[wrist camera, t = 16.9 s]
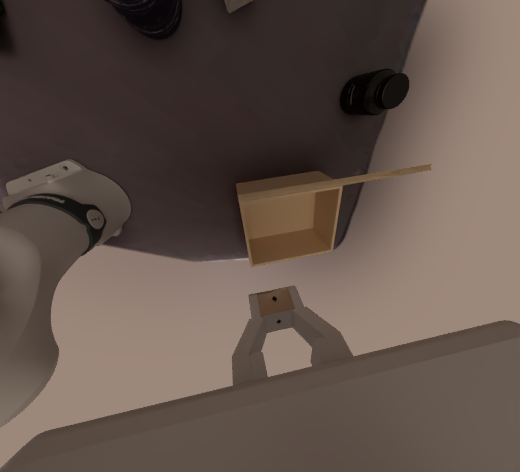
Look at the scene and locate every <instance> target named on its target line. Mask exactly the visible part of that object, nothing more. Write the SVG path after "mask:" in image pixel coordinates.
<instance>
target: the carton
mask: <svg viewBox="0 0 520 472" xmlns="http://www.w3.org/2000/svg"><path fill="white" fill-rule="evenodd" d="M330 180H333V179H332V178H330V177H328V176H327V175H325V174H323V173H322V172H320V171H313V172H306V173H300V174H294V175H287V176H281V177H275V178H268V179H262V180H255V181H249V182H243V183H236V188H237V194H238V195H243V194H250V193H256V192H262V191H268V190H274V189H280V188H287V187H293V186H299V185H305V184H311V183H317V182H324V181H330ZM342 187H343V185H342V186H336V187H330V188H324V189H318V190H312V191H306V192H300V193H294V194H288V195H282V196H276V197H270V198H263V199H257V200H251V201H245V202H239V205H240V210H241V216H242V221H243V227H244V232H245V238H246V243H247V249H248V254H249V260H250V265H251V267H254V266H259V265H265V264H270V263H275V262H280V261H285V260H290V259H295V258H301V257H306V256H311V255H316V254H321V253H326V252H331V251H333V245H334V238H335V232H336V226H337V219H338V213H339V206H340V200H341V194H342Z"/></svg>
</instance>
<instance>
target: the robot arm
mask: <svg viewBox="0 0 520 472" xmlns="http://www.w3.org/2000/svg"><path fill="white" fill-rule="evenodd" d="M65 166H66V167H67V168H68V169H66V168H65ZM6 188H7V192H8V194H9V196H6V197H4V198H3V199H2V205H3V208H4V210H5V212H1V211H0V427H2V426H3V425H5V424H6V423H8V422H9V421H10V420H12V419H13V418H14V417H16V416H17V415H18V414H19V413H21V412H22V411H23V410H24V409H25V408H26V407H27V406H28V405H29V404H30V403H31V402H32V401H33V400H34V399H35V398H36V397H37V396H38V395H39V394H40V392H41V391H42V390H43V389H44V387H45V386H46V384H47V383H48V381H49V380H50V378H51V376H52V374H53V372H54V370H55V368H56V365H57V361H58V356H59V348H58V345H57V343H56V341H55V339H54V336H53V332H52V327H51V305H52V299H53V295H54V292H55V289H56V287H57V284H58V282H59V281H60V279H61V278H62V276H63V275H64V274H65V273H66V271H67V270H68V269H69V268H70V267H71V266H72V264H73V263H74V262H75V261H76V260H77V259H78V258H79V257H80V256H82V255H84V254H86V253H87V252H88V251H90V250H91V249H93V248H94V247H95V246H100V245H101V244H103V243H104V242H105V241H106V240H107V239H109V238H110V237H111V236H118V235H119V234H120V233H121V231H122V226H123V224H124V223H125V222H126V221H127V220H128V218H129V216H130V214H131V204H130V201H129V199H128V197H127V195H126V193H125V192H124V191H123V190H122V188H121V187H120V186H119V185H117V184H116V183H115V182H114V181H112V180H111V179H109V178H107V177H106V176H104V175H101V174H99V173H96V172H93V171H91V170H89V169H87V168H85V167H84V166H83V165H81V164H80V163H78V162H76V161H75V160H72V159H67V160H64V161H62V162H59V163H57V164H54V165H51V166H49V167H46V168H43V169H41V170H38V171H35V172H33V173H30V174H28V175H25V176H22V177H20V178H17V179H14V180H12V181H10V182H8V183H6ZM249 302H250V310H251V317H252V319H249V321H248V323H247V326H246V328H245V330H244V332H243V334H242V337H241V338H240V341H239V343H238V345H237V347H236V349H235V351H234V354H233V356H232V370H233V386H230V387H226V388H222V389H218V390H213V391H210V392H206V393H201V394H197V395H193V396H189V397H185V398H181V399H177V400H173V401H168V402H164V403H160V404H156V405H152V406H147V407H143V408H139V409H135V410H131V411H127V412H123V413H119V414H115V415H111V416H106V417H102V418H98V419H95V420H90V421H86V422H82V423H78V424H74V425H70V426H65V427H61V428H57V429H52V430H49V431H45V432H43V433H40V434H38V435H37V436H35V437H34V438H33V439H31V440H30V441H29V442H28V443H27V444H26V445H25V446H23V447H22V448H21V449H20V450H19V451H18V452H17V453H16V454H15V455H14V456H13V457H12V458H11V459H10V460H9V461H8V462H7V463H5V464H4V465H3V466H2V467H1V468H0V472H520V324H518V323H516V322H512V321H506V320H505V321H498V322H494V323H490V324H486V325H482V326H477V327H473V328H469V329H465V330H461V331H457V332H453V333H448V334H444V335H440V336H436V337H432V338H428V339H424V340H420V341H415V342H411V343H407V344H403V345H399V346H395V347H391V348H387V349H383V350H378V351H374V352H370V353H366V354H362V355H358V356H354V357H353V355H352V353H351V351H350V349H349V347H348V346H347V344H346V342H345V340H344V338H343V336H342V335H341V333H340V331H338V330H337V329H336V328H334V327H333V326H331V325H330V324H329V323H327V322H326V321H325V320H323V319H322V318H321V317H319V316H318V315H317V314H315V313H314V312H313V311H311V310H310V309H309V308H307V307H304V305H303V303H302V301H301V298H300V296H299V294H298V291H297V289H296V287H295V286H289V287H284V288H279V289H275V290H272V291H266V292H261V293H255V294H251V295H249ZM291 327H293V328H294V329H295V330H296V331H297V332H298V333H299V334H300V335H301V336H302V337H303V338H304V339H305V340H306V341H307V342H308V343H309V345H310V346H311V347H312V355H311V364H312V367H308V368H304V369H300V370H296V371H292V372H287V373H283V374H279V375H275V376H271V377H268V376H267V371H266V366H265V362H264V357H263V353H262V352H261V350H262V347H263V344H264V341H265V338H266V333H269V332H272V331H277V330H281V329H286V328H291Z"/></svg>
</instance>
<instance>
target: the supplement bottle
mask: <svg viewBox="0 0 520 472" xmlns="http://www.w3.org/2000/svg"><path fill="white" fill-rule="evenodd" d="M408 90H409V79H408V77H407V75H405V74H403V73H398V74H396V72H395V71H393V70H391V69H382V70H378V71H374V72H370V73H366V74H362V75H358V76H355V77H353V78H352V79H350V80H349V81H348V82H347V84H346V85H345V87H344V89H343V91H342V94H341V107H342V109H343V110H344V112H346V113H347V114H352V115H378V114H381V113H383V112H384V111H386V110H387V109H392V108H395V107H397V106H398V105H399V104H400V103H401V102H402V101H403V100H404V98H405V97H406V95H407V92H408Z"/></svg>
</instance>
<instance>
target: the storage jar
mask: <svg viewBox="0 0 520 472" xmlns="http://www.w3.org/2000/svg"><path fill="white" fill-rule="evenodd" d="M106 1H107V2H108V3H109V4H111V5H112V6H113V7H114V9H115V10H116V11H117V12H118V13H119V14H120V15H121V16H122V17H123V18H124V19H125V20H126V21H127V22H128V23H129V24H131V25H132V26H133V27H134V28H136V29H137V30H138V31H139V32H140V33H142V34H143V35H145V36H147V37H149V38H151V39H156V40H163V39H167V38H169V37H171V36H172V35H173V34H174V33H175V32H176V31H177V29H178V27H179V24H180V21H181V16H182V0H106Z"/></svg>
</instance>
